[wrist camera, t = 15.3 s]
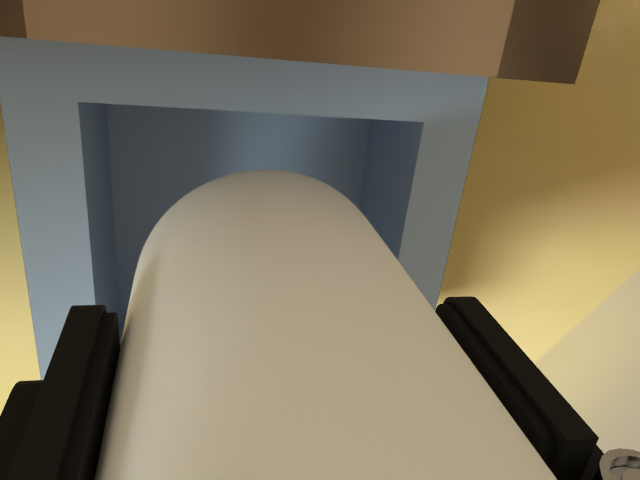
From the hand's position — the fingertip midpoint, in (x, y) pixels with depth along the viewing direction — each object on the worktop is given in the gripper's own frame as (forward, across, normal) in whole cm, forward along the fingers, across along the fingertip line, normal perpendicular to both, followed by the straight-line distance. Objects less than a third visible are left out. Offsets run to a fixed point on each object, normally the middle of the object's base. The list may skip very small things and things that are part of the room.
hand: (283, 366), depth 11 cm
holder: (+9, 0, 0) cm, 9 cm away
